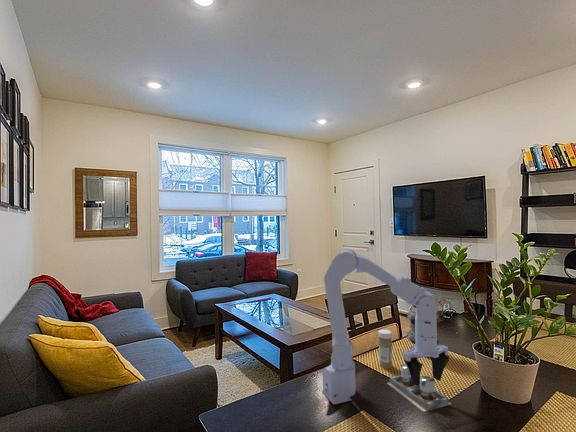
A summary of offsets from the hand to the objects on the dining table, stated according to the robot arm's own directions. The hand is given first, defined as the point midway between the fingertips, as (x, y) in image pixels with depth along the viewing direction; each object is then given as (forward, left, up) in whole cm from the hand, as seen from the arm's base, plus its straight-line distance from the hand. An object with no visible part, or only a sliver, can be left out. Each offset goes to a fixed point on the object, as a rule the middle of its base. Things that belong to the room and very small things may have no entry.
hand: (426, 381), depth 91 cm
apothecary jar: (+25, +29, -7) cm, 39 cm away
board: (0, +4, -7) cm, 8 cm away
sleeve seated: (0, +8, -5) cm, 10 cm away
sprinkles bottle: (+2, +22, -7) cm, 23 cm away
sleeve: (0, 0, -5) cm, 5 cm away
